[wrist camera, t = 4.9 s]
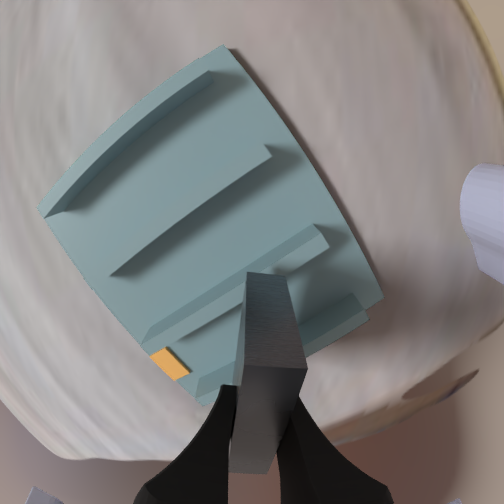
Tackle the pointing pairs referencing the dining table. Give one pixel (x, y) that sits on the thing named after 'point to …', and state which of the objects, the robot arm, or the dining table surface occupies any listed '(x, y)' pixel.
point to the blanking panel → (264, 373)
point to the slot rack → (207, 224)
